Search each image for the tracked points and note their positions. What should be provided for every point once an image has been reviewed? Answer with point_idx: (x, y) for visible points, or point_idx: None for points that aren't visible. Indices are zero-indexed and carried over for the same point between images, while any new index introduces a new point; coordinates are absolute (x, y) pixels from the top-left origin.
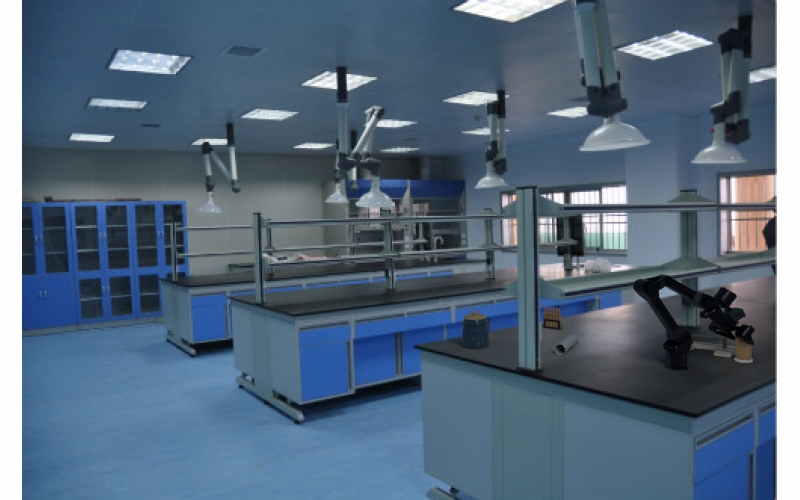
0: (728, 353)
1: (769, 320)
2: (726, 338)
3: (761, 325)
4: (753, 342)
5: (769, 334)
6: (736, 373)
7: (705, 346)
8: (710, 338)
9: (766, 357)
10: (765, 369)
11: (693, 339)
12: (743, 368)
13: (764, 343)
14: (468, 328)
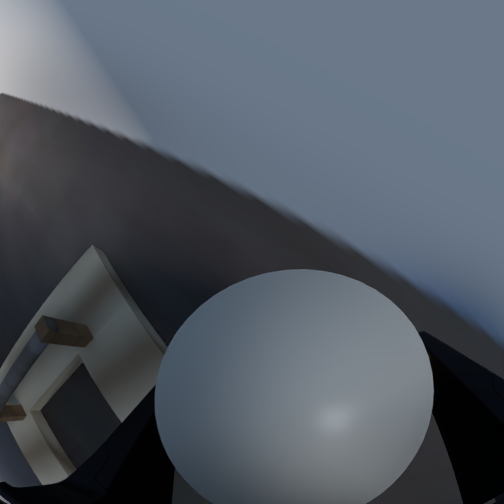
0: None
1: (13, 96)
2: (46, 318)
3: (14, 109)
4: (442, 347)
5: (44, 106)
6: None
7: (47, 390)
8: (22, 378)
9: (241, 202)
10: (463, 335)
11: (7, 407)
12: (433, 434)
13: (77, 131)
14: None
